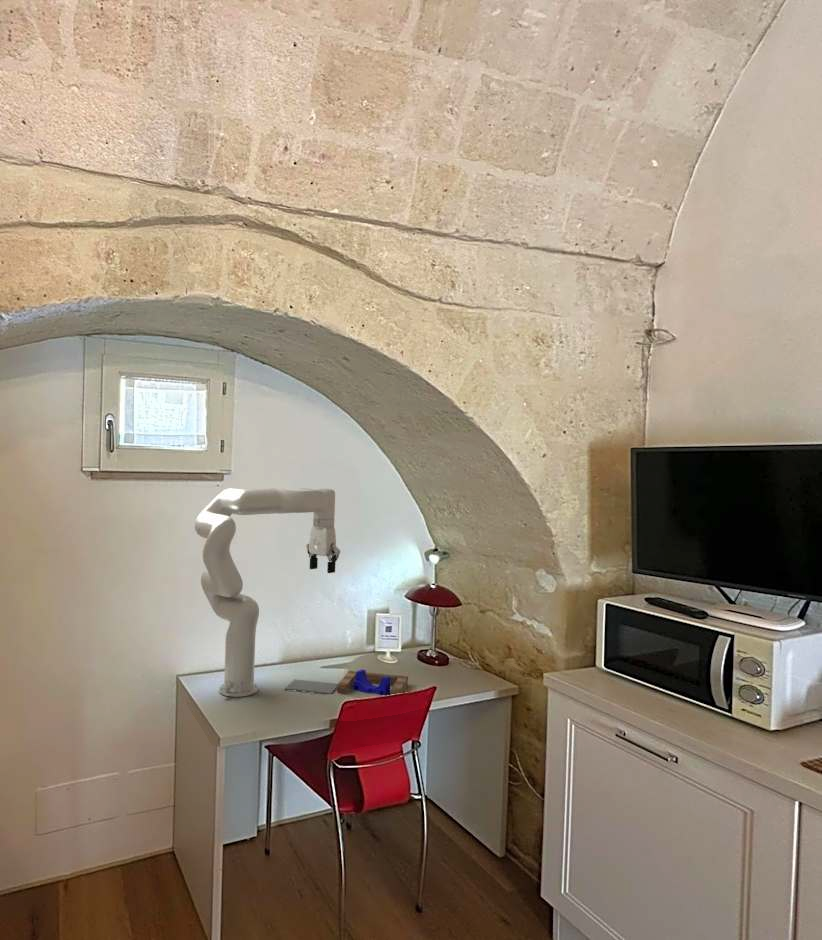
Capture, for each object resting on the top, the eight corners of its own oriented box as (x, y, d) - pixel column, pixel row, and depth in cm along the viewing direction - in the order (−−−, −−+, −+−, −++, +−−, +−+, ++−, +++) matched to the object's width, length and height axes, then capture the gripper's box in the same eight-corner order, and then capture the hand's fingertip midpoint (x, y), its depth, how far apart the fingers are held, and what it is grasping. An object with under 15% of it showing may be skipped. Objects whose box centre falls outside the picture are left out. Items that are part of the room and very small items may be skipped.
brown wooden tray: (399, 699, 238) (399, 690, 238) (336, 693, 241) (337, 684, 241) (407, 684, 253) (407, 676, 253) (349, 679, 257) (349, 670, 256)
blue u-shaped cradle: (353, 689, 246) (354, 672, 246) (361, 686, 250) (362, 669, 250) (382, 697, 239) (382, 679, 239) (389, 694, 243) (390, 676, 243)
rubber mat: (330, 694, 240) (331, 693, 240) (284, 690, 242) (284, 688, 242) (339, 685, 249) (339, 683, 249) (294, 681, 252) (294, 679, 252)
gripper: (300, 521, 264) (298, 568, 265) (331, 526, 253) (330, 575, 253) (316, 520, 270) (314, 566, 270) (347, 525, 258) (346, 573, 259)
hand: (322, 570), depth 262 cm, fingers open, 9 cm apart
